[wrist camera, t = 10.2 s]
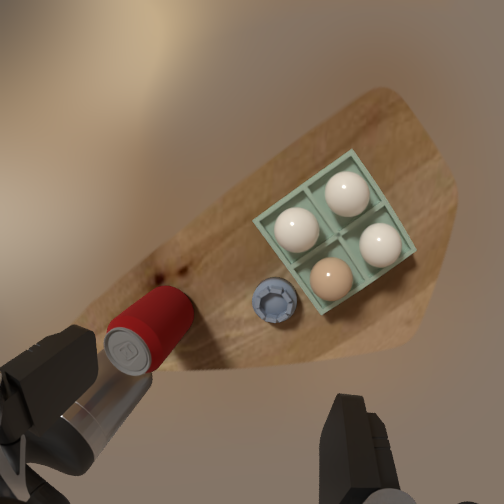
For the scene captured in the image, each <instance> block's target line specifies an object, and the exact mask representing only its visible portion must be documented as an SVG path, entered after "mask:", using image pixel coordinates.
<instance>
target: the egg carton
mask: <svg viewBox="0 0 504 504" xmlns="http://www.w3.org/2000/svg"><path fill="white" fill-rule="evenodd" d="M343 171H350V172H354V173H356V174H358V175H360V176H361V177H362V178H363V179H364V180H365V181H366V183H367V184H368V187H369V191H370V199H369V203H368V205H367V207H366V208H365V210H364V211H363V212H362V213H360V214H359V215H357V216H354V217H342V216H339V215H337V214H335V213H334V212H333V211H332V210H331V209H330V208H329V207H328V205H327V203H326V200H325V187H326V184H327V182H328V181H329V179H330V178H331V177H332V176H334V175H335V174H337V173H339V172H343ZM293 207H301V208H304V209H307V210H308V211H310V212H311V213H312V214H313V215H314V216H315V217H316V219H317V221H318V223H319V230H320V231H319V237H318V240H317V241H316V243H315V244H314V246H313V247H312V248H310V249H309V250H307V251H305V252H301V253H293V252H289V251H287V250H285V249H283V248H282V247H281V246H280V245H279V244H278V242H277V240H276V238H275V235H274V225H275V222H276V219H277V218H278V216H279V215H280V214H281V213H282V212H283V211H285V210H287V209H289V208H293ZM252 221H253V222H254V224H255V225H256V227H257V228H258V229H259V231H260V232H261V233H262V235H263V236H264V237H265V239H266V240H267V241H268V243H269V244H270V246H271V247H272V248H273V250H274V251H275V252H276V254H277V255H278V256H279V258H280V259H281V261H282V262H283V263H284V265H285V266H286V267H287V269H288V270H289V271H290V273H291V274H292V276H293V277H294V278H295V280H296V281H297V282H298V284H299V285H300V287H301V288H302V289H303V291H304V292H305V294H306V295H307V296H308V298H309V299H310V300H311V302H312V303H313V305H314V306H315V307H316V309H317V310H318V312H319V313H320V314H321V315H323V314H324V313H326V312H327V311H329V310H330V309H332V308H334V307H335V306H337V305H338V304H340V303H341V302H343V301H345V300H346V299H348V298H349V297H351V296H352V295H354V294H355V293H357V292H358V291H360V290H361V289H363V288H364V287H366V286H367V285H369V284H370V283H372V282H373V281H375V280H376V279H377V278H379V277H380V276H382V275H383V274H385V273H386V272H388V271H389V270H390V269H392V268H393V267H395V266H396V265H397V264H399V263H400V262H402V261H403V260H404V259H406V258H407V257H408V256H410V255H411V254H413V253H414V252H415V251H417V250H416V248H415V246H414V244H413V243H412V241H411V239H410V237H409V236H408V234H407V232H406V230H405V229H404V227H403V225H402V224H401V222H400V220H399V219H398V217H397V215H396V214H395V212H394V210H393V209H392V207H391V206H390V204H389V202H388V201H387V199H386V198H385V196H384V195H383V193H382V191H381V190H380V188H379V187H378V185H377V184H376V182H375V181H374V179H373V178H372V176H371V175H370V173H369V172H368V171H367V169H366V168H365V166H364V165H363V163H362V162H361V160H360V159H359V158H358V156H357V155H356V153H355V152H354V151H353V149H351V150H350V151H348V152H347V153H345V154H344V155H342V156H341V157H340V158H338V159H337V160H335V161H334V162H333V163H331V164H330V165H328V166H327V167H325V168H324V169H323V170H321V171H320V172H318V173H317V174H316V175H314V176H313V177H311V178H310V179H309V180H307V181H306V182H304V183H303V184H302V185H300V186H299V187H298V188H296V189H295V190H293V191H292V192H291V193H289V194H288V195H286V196H285V197H284V198H282V199H281V200H280V201H278V202H277V203H275V204H274V205H273V206H271V207H270V208H269V209H267V210H266V211H265V212H263V213H262V214H260V215H259V216H258V217H256V218H255V219H254V220H252ZM375 223H386V224H389V225H391V226H392V227H394V228H395V229H396V230H397V232H398V233H399V235H400V237H401V241H402V250H401V254H400V256H399V258H398V259H397V260H396V261H395V262H394V263H393V264H391V265H390V266H387V267H383V268H379V267H374V266H371V265H370V264H368V263H367V262H366V261H365V260H364V259H363V257H362V256H361V253H360V250H359V240H360V237H361V235H362V233H363V231H364V230H365V229H366V228H367V227H368V226H370V225H372V224H375ZM327 257H336V258H339V259H342V260H343V261H345V262H346V263H347V264H348V265H349V267H350V268H351V271H352V274H353V284H352V287H351V289H350V291H349V292H348V294H347V295H346V296H344V297H343V298H341V299H339V300H336V301H326V300H323V299H321V298H319V297H318V296H317V295H316V294H315V293H314V292H313V290H312V289H311V286H310V273H311V270H312V268H313V267H314V265H315V264H316V263H317V262H318V261H320V260H321V259H324V258H327Z"/></svg>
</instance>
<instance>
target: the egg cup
mask: <svg viewBox="0 0 504 504" xmlns="http://www.w3.org/2000/svg"><path fill="white" fill-rule="evenodd" d="M296 304H297V293H296V290H295V288H294V287H293V285H292V284H291V283H290V282H289V281H287V280H285V279H283V278H280V277H270V278H267V279H265V280H263V281H262V282H261V283H260V284H259V285H258V286H257V288H256V290H255V292H254V294H253V298H252V305H253V308H254V311H255V312H256V314H257V315H258V316H259V317H260V318H261V319H263V320H265V321H267V322H272V323H278V322H282V321H285V320H287V319H288V318H290V317H291V316H292V314H293V313H294V311H295V309H296Z"/></svg>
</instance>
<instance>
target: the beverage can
mask: <svg viewBox="0 0 504 504" xmlns="http://www.w3.org/2000/svg"><path fill="white" fill-rule="evenodd" d="M193 319H194V310H193V306H192V304H191V302H190V300H189V299H188V297H187V296H186V295H185V294H184V293H183V292H182V291H180V290H179V289H177V288H175V287H172V286H159V287H157V288H155V289H153V290H152V291H150V292H149V293H148V294H146V295H145V296H143V297H142V298H141V299H139V300H138V301H137V302H135V303H134V304H133V305H131V306H130V307H129V308H127V309H126V310H125V311H123V312H122V313H121V314H119V315H118V316H117V317H116V318H114V319H113V320H112V321H111V322H110V324H109V326H108V328H107V333H106V336H105V338H104V349H105V352H106V355H107V357H108V359H109V360H110V362H111V363H112V364H113V365H114V366H115V367H116V368H117V369H119V370H120V371H121V372H123V373H125V374H128V375H132V376H139V375H142V374H144V373H150V372H153V371H155V370H156V369H157V368H158V367H159V366H160V365H161V364H162V363H163V361H164V360H165V359H166V358H167V356H168V355H169V354H170V353H171V351H172V350H173V349H174V348H175V346H176V345H177V344H178V342H179V341H180V340H181V339H182V337H183V336H184V335H185V333H186V332H187V331H188V329H189V328H190V326H191V325H192V323H193Z"/></svg>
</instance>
